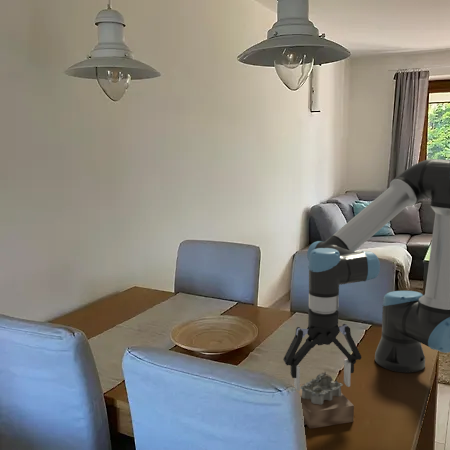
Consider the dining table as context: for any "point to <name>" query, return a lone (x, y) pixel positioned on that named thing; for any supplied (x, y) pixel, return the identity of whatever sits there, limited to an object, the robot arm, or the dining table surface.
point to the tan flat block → (327, 411)
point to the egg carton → (321, 389)
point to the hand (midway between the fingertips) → (322, 386)
